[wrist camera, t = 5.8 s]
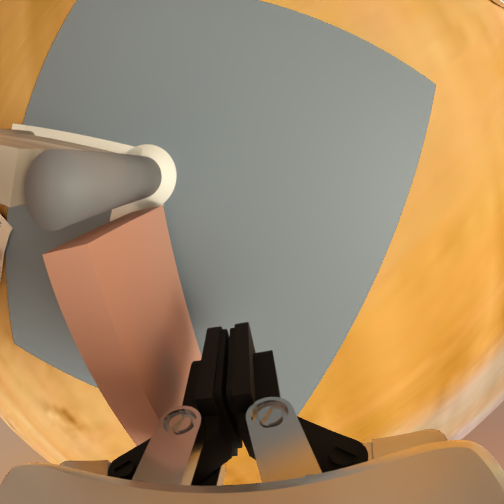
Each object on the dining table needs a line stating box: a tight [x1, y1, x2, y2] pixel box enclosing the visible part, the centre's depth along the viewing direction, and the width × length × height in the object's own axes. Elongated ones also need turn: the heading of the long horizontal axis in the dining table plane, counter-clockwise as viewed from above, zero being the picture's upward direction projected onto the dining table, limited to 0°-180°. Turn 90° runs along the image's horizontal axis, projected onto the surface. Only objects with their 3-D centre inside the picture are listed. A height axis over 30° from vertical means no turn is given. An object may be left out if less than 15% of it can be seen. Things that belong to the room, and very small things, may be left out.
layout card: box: [6, 0, 436, 416], centre depth 13 cm, size 26×24×1 cm
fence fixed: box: [0, 129, 115, 207], centre depth 8 cm, size 2×8×8 cm, turn 71°
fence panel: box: [24, 149, 202, 446], centre depth 10 cm, size 13×2×7 cm, turn 9°
